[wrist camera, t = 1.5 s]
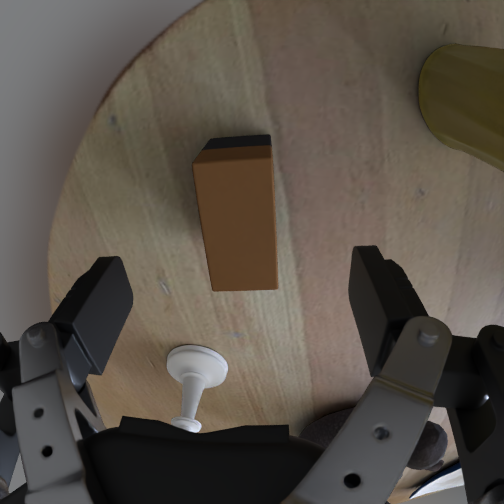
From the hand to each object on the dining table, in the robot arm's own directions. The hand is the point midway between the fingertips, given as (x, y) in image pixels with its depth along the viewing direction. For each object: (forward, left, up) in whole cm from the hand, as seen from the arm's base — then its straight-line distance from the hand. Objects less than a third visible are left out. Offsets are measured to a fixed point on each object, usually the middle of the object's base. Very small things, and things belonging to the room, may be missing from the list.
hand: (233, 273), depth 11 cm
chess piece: (+14, -5, -7) cm, 16 cm away
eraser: (0, 0, -7) cm, 7 cm away
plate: (+62, +42, -7) cm, 75 cm away
